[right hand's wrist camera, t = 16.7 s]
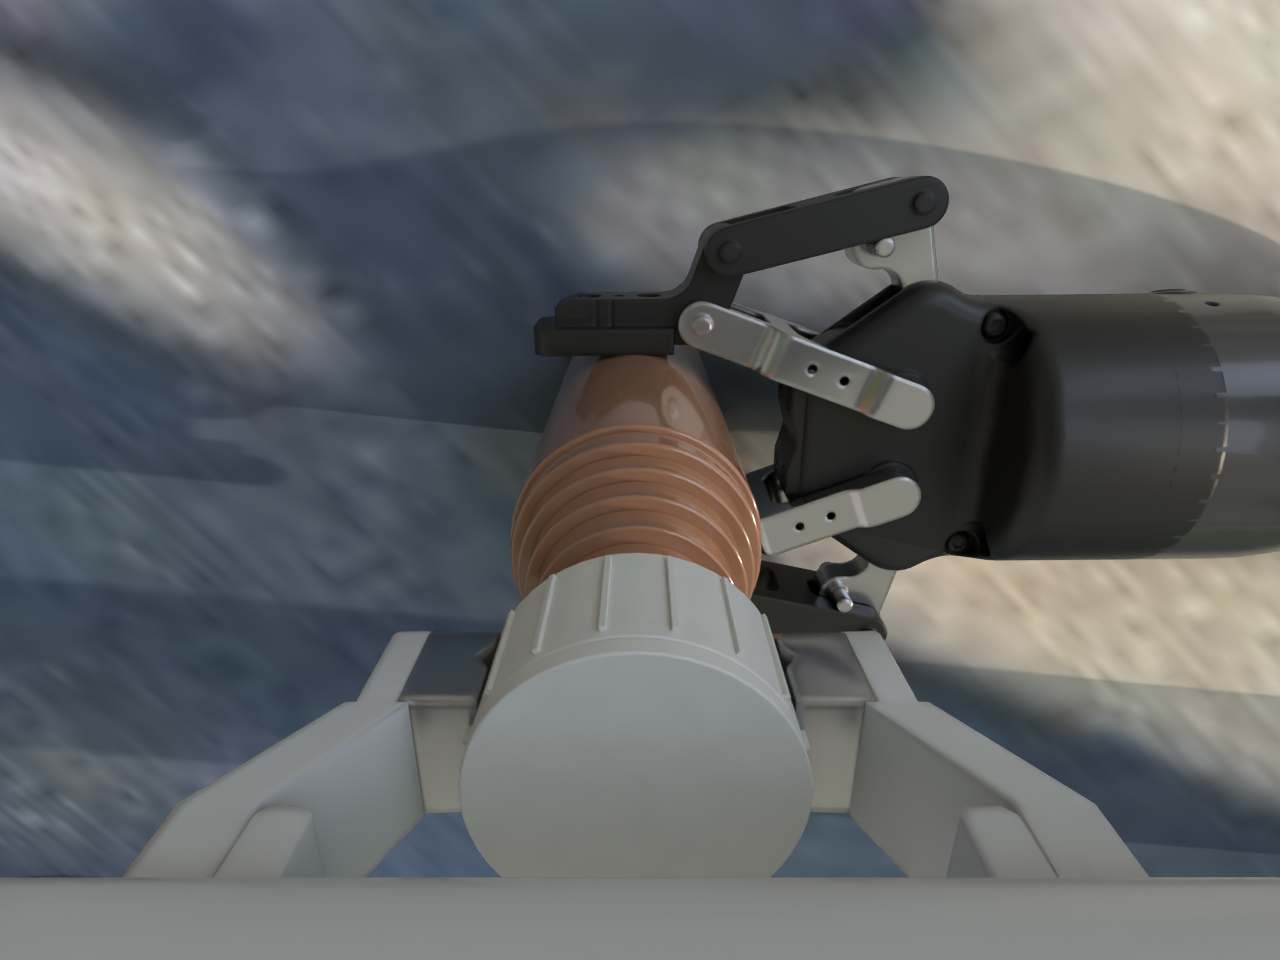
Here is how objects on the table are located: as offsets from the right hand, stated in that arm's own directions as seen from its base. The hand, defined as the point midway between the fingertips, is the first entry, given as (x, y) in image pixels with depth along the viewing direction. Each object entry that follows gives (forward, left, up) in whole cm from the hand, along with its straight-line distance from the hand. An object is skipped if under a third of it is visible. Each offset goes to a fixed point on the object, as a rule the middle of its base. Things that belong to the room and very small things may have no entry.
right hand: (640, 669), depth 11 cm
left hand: (-3, 0, -11) cm, 11 cm away
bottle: (0, 0, -17) cm, 17 cm away
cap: (0, 0, +2) cm, 2 cm away
